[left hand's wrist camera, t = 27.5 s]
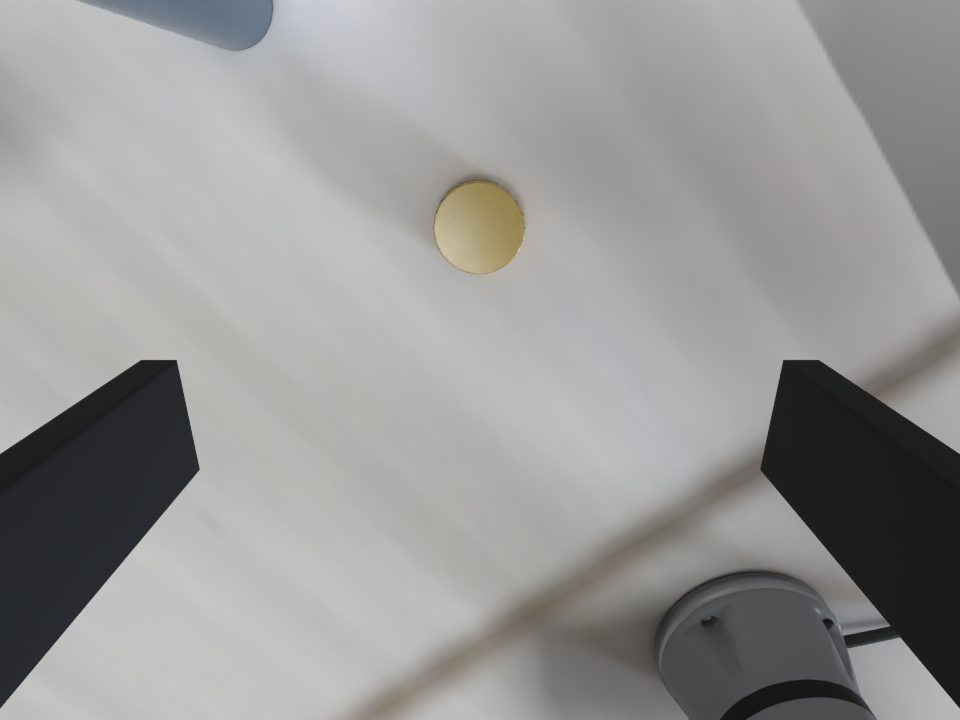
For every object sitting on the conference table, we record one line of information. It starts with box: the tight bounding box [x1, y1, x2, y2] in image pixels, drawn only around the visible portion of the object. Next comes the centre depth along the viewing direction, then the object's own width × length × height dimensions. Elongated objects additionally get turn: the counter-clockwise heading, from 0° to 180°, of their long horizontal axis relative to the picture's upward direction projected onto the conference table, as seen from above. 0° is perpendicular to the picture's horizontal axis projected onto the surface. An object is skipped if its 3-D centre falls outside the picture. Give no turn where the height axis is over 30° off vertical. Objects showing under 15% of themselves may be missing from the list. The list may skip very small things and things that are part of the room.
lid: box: [433, 180, 525, 274], centre depth 36 cm, size 6×6×2 cm
